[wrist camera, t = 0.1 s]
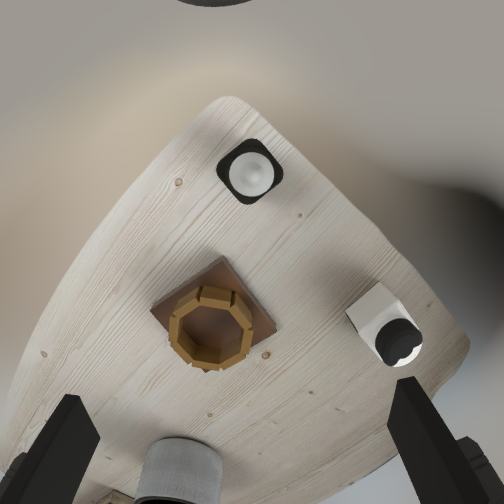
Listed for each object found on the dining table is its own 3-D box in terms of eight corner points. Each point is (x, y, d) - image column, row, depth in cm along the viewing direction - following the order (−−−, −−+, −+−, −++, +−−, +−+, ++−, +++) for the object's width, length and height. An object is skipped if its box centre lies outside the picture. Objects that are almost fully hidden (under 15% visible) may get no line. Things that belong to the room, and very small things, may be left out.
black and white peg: (251, 142, 40) (259, 111, 16) (276, 172, 41) (317, 183, 17) (221, 167, 41) (187, 171, 17) (246, 196, 42) (246, 240, 18)
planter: (185, 483, 59) (178, 536, 44) (133, 448, 55) (115, 503, 40) (239, 463, 57) (238, 523, 42) (184, 424, 53) (172, 488, 38)
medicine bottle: (343, 310, 47) (369, 353, 35) (379, 280, 46) (414, 314, 34) (367, 338, 48) (394, 382, 37) (400, 309, 47) (436, 347, 36)
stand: (153, 303, 46) (141, 323, 40) (223, 255, 44) (219, 270, 38) (207, 363, 49) (202, 389, 43) (275, 323, 47) (279, 346, 41)
